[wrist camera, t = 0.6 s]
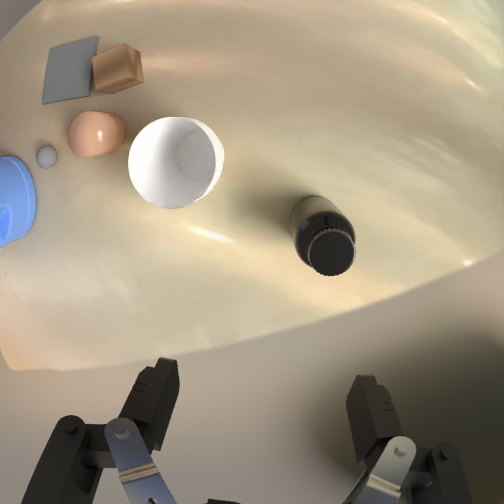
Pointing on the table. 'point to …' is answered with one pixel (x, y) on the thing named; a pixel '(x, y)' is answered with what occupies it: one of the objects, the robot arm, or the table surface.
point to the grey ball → (46, 157)
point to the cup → (175, 161)
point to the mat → (70, 70)
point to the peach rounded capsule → (96, 133)
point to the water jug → (15, 200)
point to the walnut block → (117, 69)
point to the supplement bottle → (322, 236)
